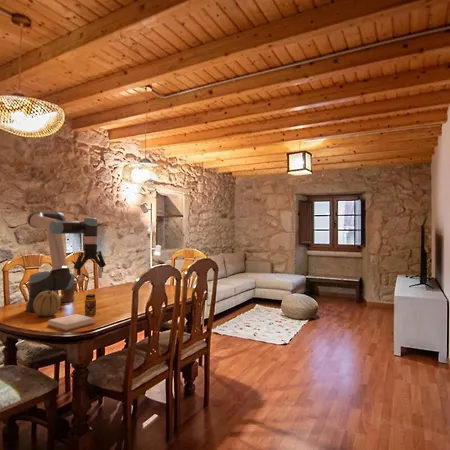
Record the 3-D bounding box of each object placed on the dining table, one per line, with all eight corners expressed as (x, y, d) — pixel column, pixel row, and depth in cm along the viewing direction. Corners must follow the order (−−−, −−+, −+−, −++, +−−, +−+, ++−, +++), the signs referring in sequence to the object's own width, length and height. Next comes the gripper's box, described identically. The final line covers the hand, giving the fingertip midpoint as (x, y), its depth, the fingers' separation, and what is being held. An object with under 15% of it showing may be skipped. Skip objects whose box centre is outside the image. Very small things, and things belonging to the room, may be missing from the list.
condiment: (88, 317, 203) (88, 296, 203) (80, 314, 208) (80, 294, 208) (99, 314, 209) (99, 294, 209) (90, 312, 214) (90, 292, 214)
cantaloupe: (44, 312, 213) (44, 287, 213) (66, 313, 211) (66, 288, 211) (26, 318, 199) (26, 292, 199) (49, 319, 196) (50, 292, 196)
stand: (47, 325, 184) (47, 320, 184) (76, 319, 198) (76, 313, 198) (66, 331, 175) (66, 325, 175) (94, 323, 189) (94, 318, 189)
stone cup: (75, 302, 242) (75, 280, 242) (56, 303, 239) (57, 281, 239) (78, 298, 256) (79, 277, 257) (61, 299, 253) (61, 278, 253)
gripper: (75, 244, 196) (75, 282, 196) (111, 243, 217) (111, 277, 217) (67, 244, 200) (67, 281, 200) (103, 242, 221) (103, 276, 221)
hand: (90, 279), depth 208 cm, fingers open, 13 cm apart
